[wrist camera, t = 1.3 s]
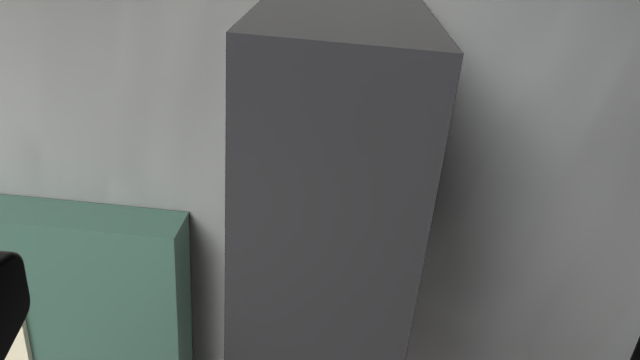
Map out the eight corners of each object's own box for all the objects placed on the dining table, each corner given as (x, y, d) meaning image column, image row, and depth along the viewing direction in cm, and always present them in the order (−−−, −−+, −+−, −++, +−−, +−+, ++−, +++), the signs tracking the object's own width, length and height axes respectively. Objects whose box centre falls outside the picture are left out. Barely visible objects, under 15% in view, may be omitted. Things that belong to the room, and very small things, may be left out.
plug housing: (277, -17, 13) (226, 32, 8) (419, -4, 13) (463, 54, 8) (267, 234, 16) (224, 391, 11) (382, 245, 16) (396, 408, 11)
